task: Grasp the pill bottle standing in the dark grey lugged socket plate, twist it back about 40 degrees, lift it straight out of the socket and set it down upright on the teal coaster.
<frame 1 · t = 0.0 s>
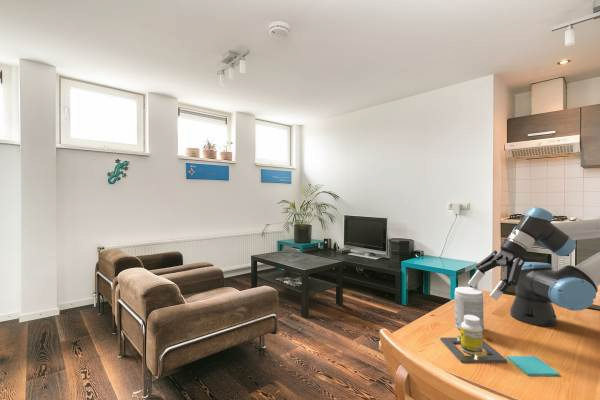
hand: (481, 291, 110), 16 cm above the table, tool tilted 35°, fingers open, 13 cm apart
pill bottle: (471, 351, 99), resting in socket plate
supplement tub: (468, 328, 115), on the table, touching gripper
socket plate: (471, 350, 99), on the table
coaster: (531, 366, 90), on the table
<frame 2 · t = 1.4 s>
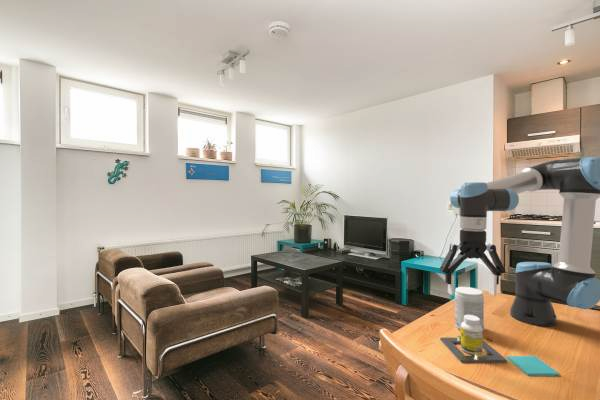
hand: (471, 294, 99), 19 cm above the table, tool pointing down, fingers open, 13 cm apart
supplement tub: (468, 328, 115), on the table
everything else where it was.
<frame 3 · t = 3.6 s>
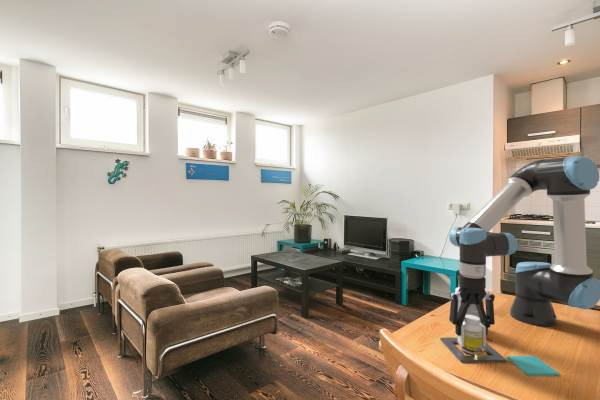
hand: (471, 344, 99), 2 cm above the table, tool pointing down, fingers closed on pill bottle, 6 cm apart
pill bottle: (471, 350, 99), resting in socket plate, touching gripper
everything else where it was.
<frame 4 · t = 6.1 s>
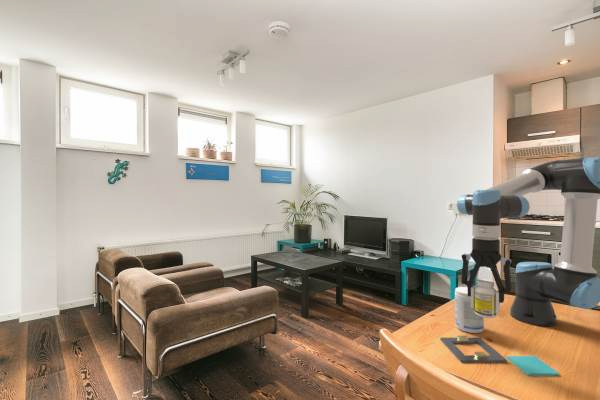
hand: (485, 309, 97), 15 cm above the table, tool pointing down, fingers closed on pill bottle, 6 cm apart
pill bottle: (485, 315, 97), point 12 cm above the table, touching gripper
everything else where it was.
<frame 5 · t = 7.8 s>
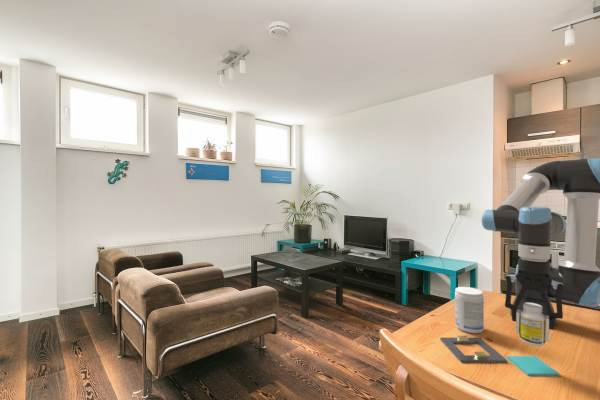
hand: (532, 335, 90), 9 cm above the table, tool pointing down, fingers closed on pill bottle, 6 cm apart
pill bottle: (531, 342, 90), point 7 cm above the table, touching gripper
everything else where it was.
when the fingers open (4 cm above the table, at t = 9.1 s): pill bottle drops 1 cm, resting on coaster.
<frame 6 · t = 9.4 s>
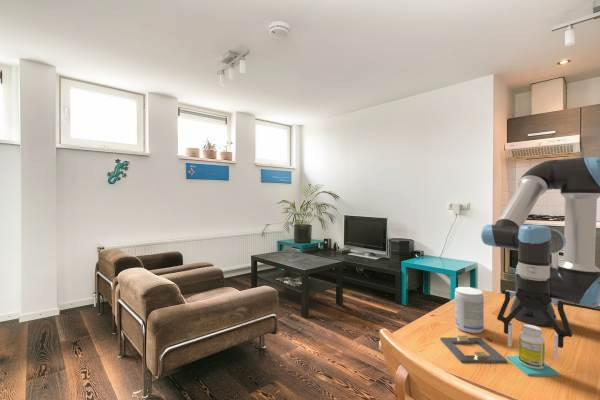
hand: (532, 350, 90), 5 cm above the table, tool pointing down, fingers open, 10 cm apart
pill bottle: (530, 364, 90), resting on coaster
everything else where it was.
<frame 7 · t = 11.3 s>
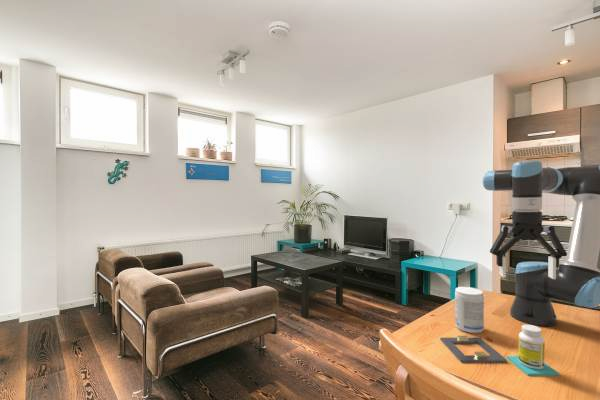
hand: (526, 277, 96), 25 cm above the table, tool pointing down, fingers open, 13 cm apart
nothing on the table moved.
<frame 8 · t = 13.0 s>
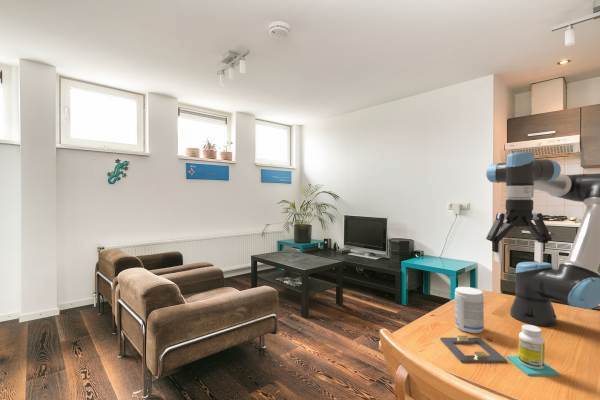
hand: (518, 261, 101), 29 cm above the table, tool pointing down, fingers open, 13 cm apart
nothing on the table moved.
at the end: pill bottle inside the target area on the coaster (0.2 cm from its centre), point 0.4 cm above the coaster's base; pill bottle tilted 0°; the gripper is holding nothing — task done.
